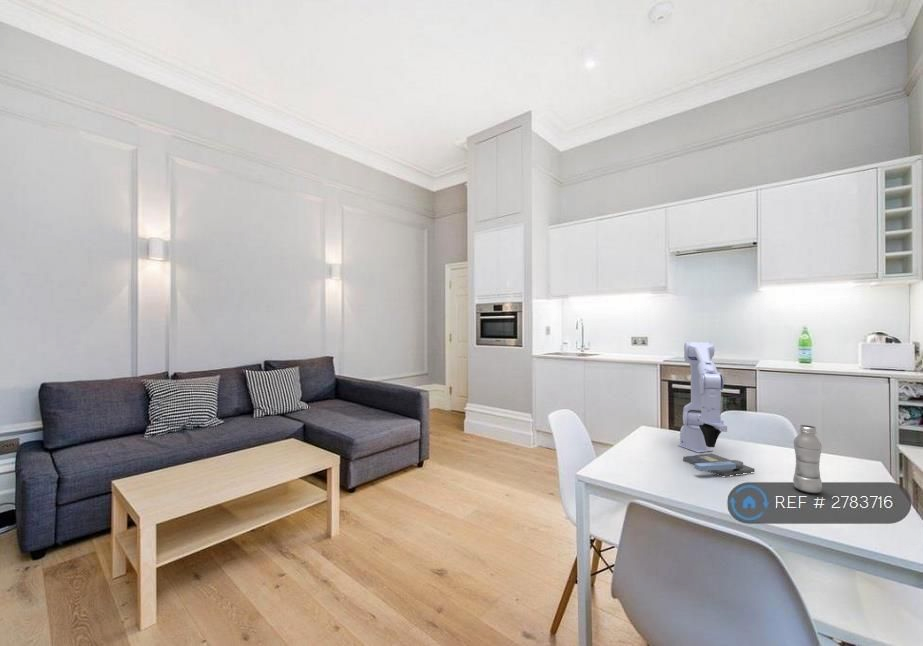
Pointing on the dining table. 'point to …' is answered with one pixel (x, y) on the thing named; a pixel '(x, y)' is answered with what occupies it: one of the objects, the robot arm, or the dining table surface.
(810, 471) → the plastic bottle
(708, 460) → the chassis
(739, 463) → the cable arm
